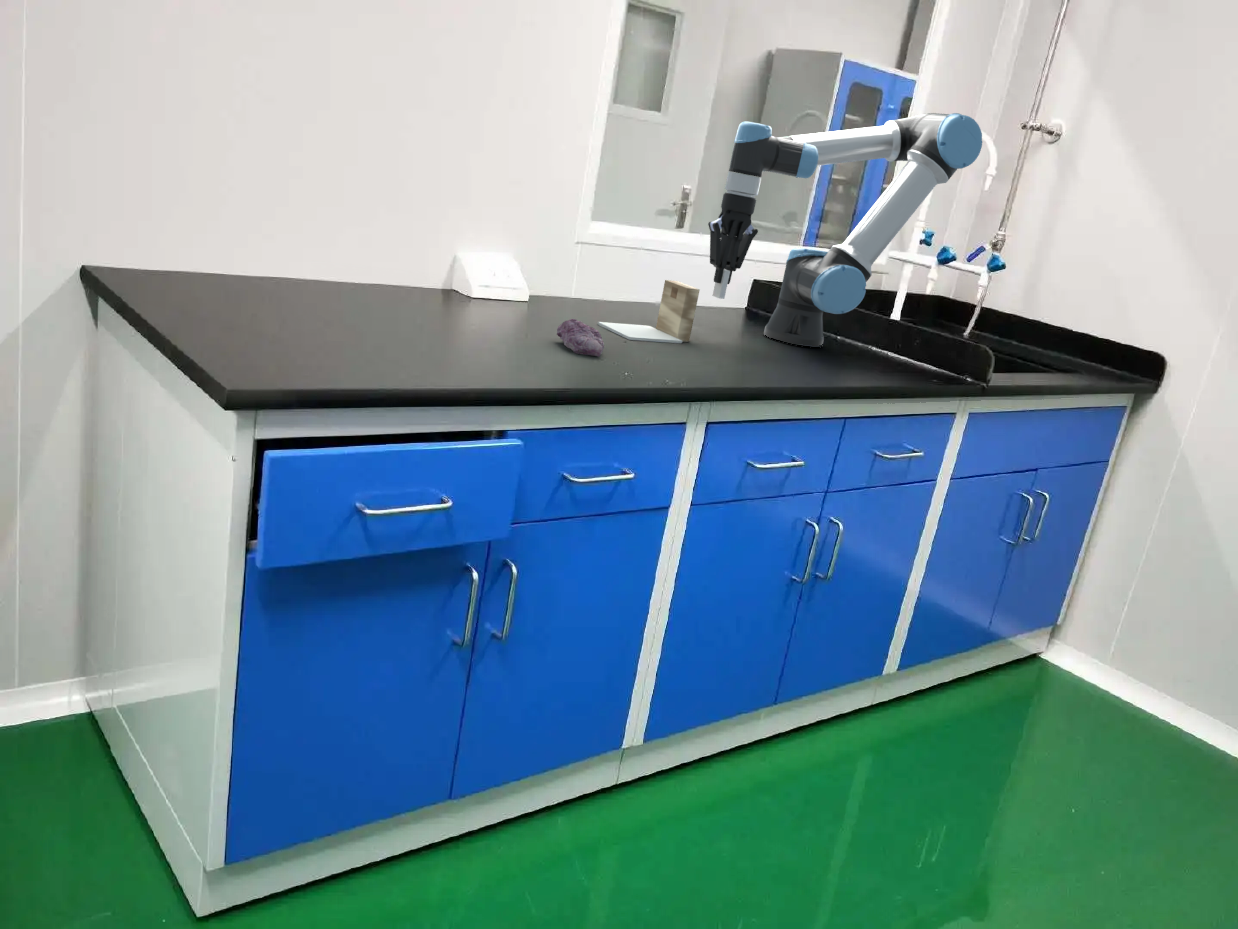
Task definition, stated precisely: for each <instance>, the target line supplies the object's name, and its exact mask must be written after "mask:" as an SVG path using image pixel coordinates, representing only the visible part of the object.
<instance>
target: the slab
mask: <svg viewBox="0 0 1238 929" xmlns="http://www.w3.org/2000/svg"><path fill="white" fill-rule="evenodd" d="M663 283H664V284H663V290H662V294H661V300H660V305H659V310H658V316H657V320H656V326H655V329H657V330H660V331H662V332H664V333H666V334H668V335H671V336H673V337H675V338H677V339H680V340H682V342H687V343H688V342H690V339H691V334H692V330H693V324H694V319H695V314H696V310H697V306H698V300H699V295H700V290H701V289H699V288H697V287H694V286H691V285H689V284H686V283H683V282H681V281H678V280H672V279H671V280H669V279H664V282H663Z"/></svg>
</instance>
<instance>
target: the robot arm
mask: <svg viewBox="0 0 1238 929" xmlns="http://www.w3.org/2000/svg"><path fill="white" fill-rule="evenodd" d="M772 133H773V129H772V126H770V125H767V124H762V123H759V122H753V121H747V120H746V121H742V122H741V123H739V125H738V128H737V131H736V133H735V139H734V142H733V146H732V152H731V154H732V155H731V158H730V164H729V169H728V172H727V178H726V183H725V186H724V189H725V190H726V192H724V193H723V196H722V199H721V201H722V202H721V206H720V208H721V211H720V214H718V218H717V219H716V220H713V221H711V220H709V221H708V224H707V226H708V229H709V231H710V232H709V234H710V236H709V238H710V239H709V264H711V265H713V267H714V268H715V272H714V275H713V276H714V277H713V283H714V286H713V287H714V288H713V290H712V291H713V292H712V297H715V298H717V299H720V300H721V299H725V297H726V292H727V287H728V285H729V284H730V283H731V280H732V276H733V272H736V271H737V269H742V268H741V267H742V266H743V263H744V261H745V258H746V256H747V253H748V252H749V249H750V246H751V245H752V242H753V239H754V238H755V237H756V236H757V235H758V233H759V230H758V229H757V228H755V227H754V226H753V225H752V215H753V214H754V211H755V208H756V204H757V198H755V196H756V197H757V196H758V195H759V190H760V187H761V186H760V185H761V182H762V177H763V174H764V173H763V172H769V173H775V174H779V175H785V176H789V177H793V178H794V177H795V178H797V179H798V178H800V179H809V178H811V177H812V176H813V175H814V173H815V171H816V169H817V168H818V166H825V165H826V166H827V165H836V164H844V163H856V162H861V161H862V162H863V161H872V160H878V159H879V160H880V159H881V160H882V159H885V160H886V161H887V162H890V163H893V162H899V161H901V162H906V164H905V165H904V166H903V167H902V169H901V170H900V171H899V172H898V174H897V175H896V176H895V177H894V178H893V180H892V181H891V182H890V184H889V185H888V186H887V188H885V190H884V191H883V192H882V193H881V195H880V196H879V198H877V200H876V201H875V203H874V204H873V205H872V206H871V208H870V209H869V210H868V211H867V213H866V214H865V215H864V216H863V217H862V219H861V220H860V221H859V222H858V223H857V225H856V226H855V228H854V229H853V230H852V231H851V233H850V234H849V235H848V236H847V238H846V239H845V240H844V241H843V242H842V243H840V244H835V245H834V244H833V245H832V246H831V248H830V249H829V250H828V251H826V250H825V251H824V250H818V249H813V248H801V247H794V248H792V249H790V251H789V253H788V256H787V260H786V262H785V269H784V273H783V278H782V282H781V286H780V291H779V296H778V302H777V304H776V308H775V309H774V311H773V313H772V315H771V316H770V318H769V320H768V322H767V323H766V325H765V327H764V331H763V335H764V336H765V335H766V336H767V337H766V336H765V337H766V338H768V337H769V338H768V339H771V338H774V339H778V340H781V341H785V342H789V343H793V344H803V345H812V346H819V345H822V344H824V340H825V338H824V337H825V335H824V321H823V317H824V316H823V315H824V312H825V313H830V314H834V315H842V314H847V313H849V312H851V311H853V310H854V309H856V308H857V307H858V306H859V305H860V304H861V302H862V301H863V299H864V298H865V296H866V292H867V290H866V288H867V282H868V281H869V280H870V278H871V277H872V276H873V275H872V273H873V272H872V266H873V264H874V262H876V260H878V258H879V257H880V256H881V254H882V253H884V250H885V249H886V248H887V247H888V246H889V244H890V243H891V242H892V241H893V240H894V239H895V237H896V236H897V235H898V233H899V232H900V231H901V230H902V228H903V227H904V226H905V225H906V223H907V222H908V221H909V220H910V218H911V217H912V216H913V215H914V214H915V212H916V211H917V210H918V209H919V207H920V206H921V204H922V203H923V202H924V201H925V199H926V198H927V197H928V196H929V195H930V193H931V192H932V191H933V190H934V188H935V187H936V186H938V185H941V184H946V183H948V182H949V181H950V179H951V177H952V176H953V175H954V174H955V173H956V171H958V169H961V170H962V169H964V168H967V167H969V166H971V165H972V164H973V163H974V162H976V160H977V159H978V157H979V155H980V153H981V151H982V149H983V148H982V147H983V133H982V129H981V127H980V125H979V123H978V122H977V121H976V120H975V119H974V118H972V117H971V116H968V115H965V114H962V113H957V112H954V113H936V112H930V113H923V114H919V115H918V114H917V115H914V116H910V117H905V118H899V119H892V120H891V119H890V120H887V121H886V122H885V123H884V125H879V126H867V127H858V128H851V129H843V130H841V129H840V130H834V131H825V132H816V133H815V132H814V133H805V134H795V135H789V136H779V137H777V136H773V135H772ZM822 346H823V345H822Z"/></svg>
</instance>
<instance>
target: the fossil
mask: <svg viewBox="0 0 1238 929" xmlns="http://www.w3.org/2000/svg"><path fill="white" fill-rule="evenodd" d="M556 335H557V336H558V337H559V338H560V340H562V342H563V345H564V346H566V347H567V348H568V349H571V351H573V354H578V355H584V356H592V357H598V358H599V357H601V355H602V353H603V352H604V348H605V342H604V340H603V338H602V336H601V333H600V331H599V330H597V329H595V327H592V326H589V325H587V323H584V322H583V321H581V320H580V321H579V320H578V319H576V318H570V319H568V320H564V321H563V322H562V323H561V324H560V325H558V326H557V328H556Z"/></svg>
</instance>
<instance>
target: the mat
mask: <svg viewBox="0 0 1238 929" xmlns="http://www.w3.org/2000/svg"><path fill="white" fill-rule="evenodd" d="M597 326H599V327H602V328H604V329H606V330H608V331H610V332H612V333H614V334H616V335H618V336H620V337H623V338H624V339H627V340H628V341H642V342H654V343H656V342H657V343H668V344H669V343H672V344H682V343H683V341H682V340H680V339H677V338H675V337H673V336H671V335H668V334H666V333H664V332H662V331H660V330H657V329H656V327H653V326H651V325H645V324H644V325H642V324H633V323H632V324H631V323H617V322H605V321H597Z"/></svg>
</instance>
